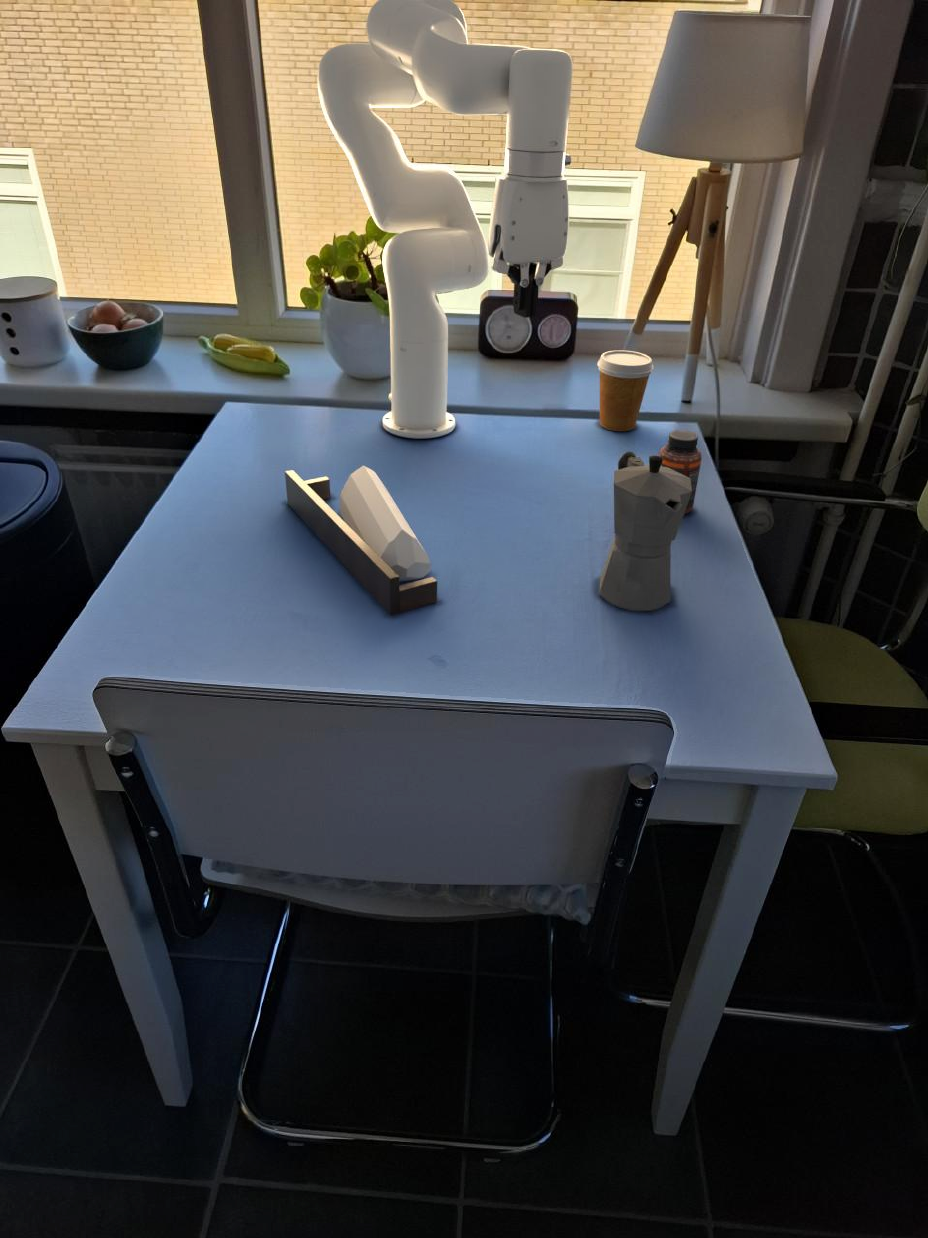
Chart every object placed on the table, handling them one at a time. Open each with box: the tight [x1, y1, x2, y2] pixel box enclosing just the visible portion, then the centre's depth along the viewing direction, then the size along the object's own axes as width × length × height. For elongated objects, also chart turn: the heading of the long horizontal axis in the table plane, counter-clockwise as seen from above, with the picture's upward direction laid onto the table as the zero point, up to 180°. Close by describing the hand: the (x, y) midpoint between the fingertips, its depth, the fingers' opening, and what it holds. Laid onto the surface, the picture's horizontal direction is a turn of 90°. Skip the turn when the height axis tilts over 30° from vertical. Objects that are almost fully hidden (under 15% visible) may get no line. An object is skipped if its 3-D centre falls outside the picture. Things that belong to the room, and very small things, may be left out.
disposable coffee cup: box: [596, 349, 654, 432], centre depth 152 cm, size 10×10×12 cm
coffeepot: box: [598, 451, 692, 612], centre depth 104 cm, size 15×9×18 cm, turn 13°
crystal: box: [338, 465, 432, 583], centre depth 115 cm, size 7×7×24 cm
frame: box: [284, 469, 438, 616], centre depth 114 cm, size 33×6×5 cm, turn 30°
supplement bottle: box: [658, 429, 703, 515], centre depth 125 cm, size 6×6×11 cm
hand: (524, 314), depth 120 cm, fingers closed
